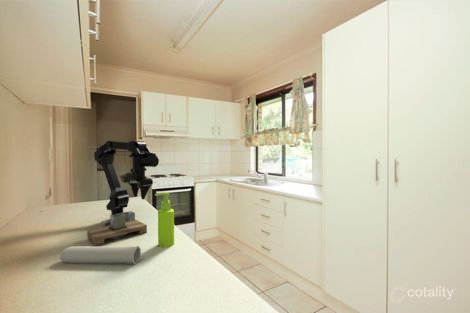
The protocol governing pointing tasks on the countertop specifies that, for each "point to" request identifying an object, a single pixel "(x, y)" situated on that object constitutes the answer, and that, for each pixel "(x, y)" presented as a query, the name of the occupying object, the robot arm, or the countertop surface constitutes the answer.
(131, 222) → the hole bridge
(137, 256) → the tube
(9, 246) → the countertop surface
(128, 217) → the medium pin
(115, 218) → the long pin
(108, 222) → the grey metal cube
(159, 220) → the soap dispenser
